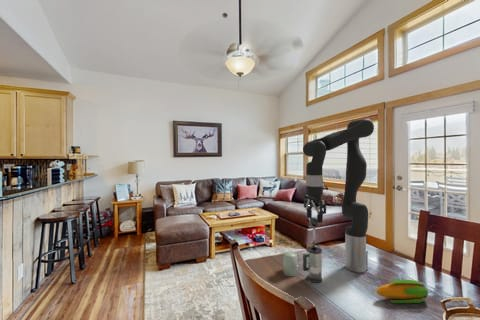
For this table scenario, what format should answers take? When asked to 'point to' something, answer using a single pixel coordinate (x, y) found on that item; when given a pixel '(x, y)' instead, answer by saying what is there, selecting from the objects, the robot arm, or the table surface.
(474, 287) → the table surface
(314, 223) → the plunger
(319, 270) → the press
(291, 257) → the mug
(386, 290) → the corn
